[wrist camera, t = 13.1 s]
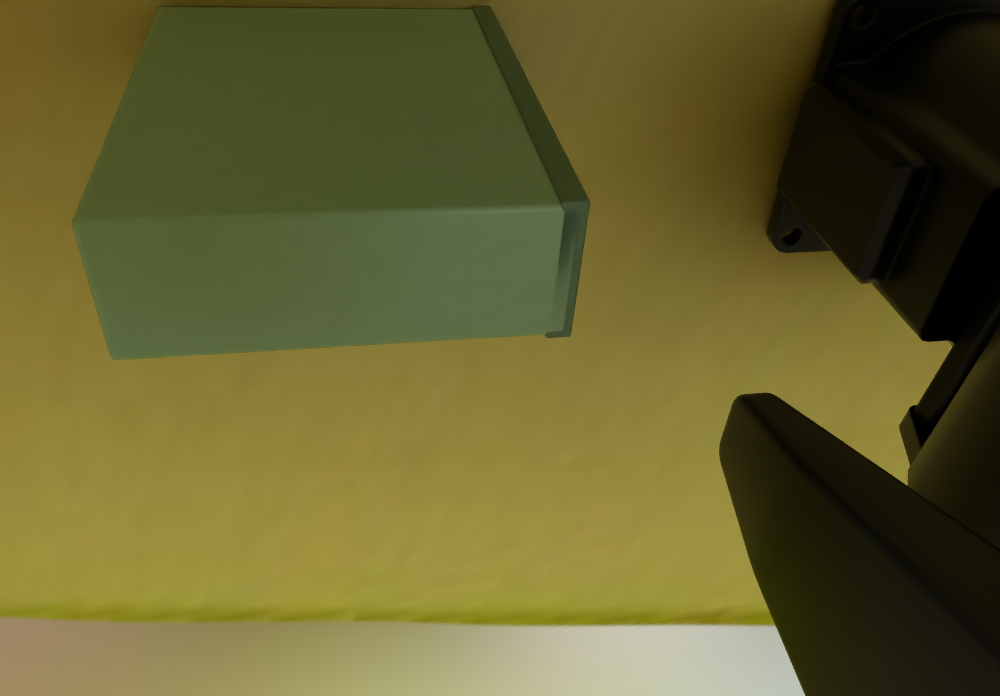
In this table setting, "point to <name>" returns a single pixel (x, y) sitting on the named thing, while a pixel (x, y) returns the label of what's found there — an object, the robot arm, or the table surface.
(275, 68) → the sage-green book
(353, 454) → the table surface
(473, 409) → the table surface
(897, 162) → the robot arm
